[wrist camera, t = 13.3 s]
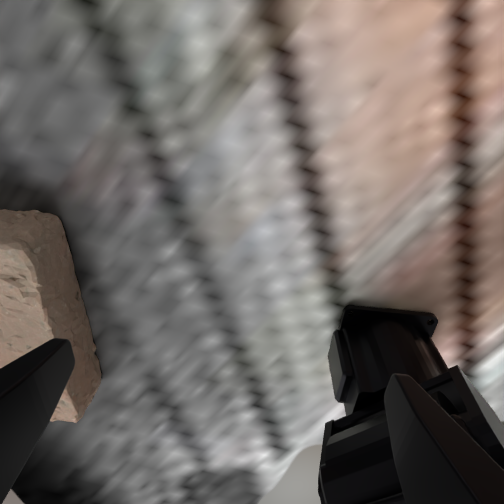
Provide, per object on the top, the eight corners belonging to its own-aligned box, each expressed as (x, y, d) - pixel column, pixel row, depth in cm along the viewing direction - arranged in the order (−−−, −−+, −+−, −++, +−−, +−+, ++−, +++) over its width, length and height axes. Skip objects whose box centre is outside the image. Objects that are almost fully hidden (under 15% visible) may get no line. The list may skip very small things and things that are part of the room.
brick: (-54, 201, 23) (-128, 231, 18) (66, 209, 22) (17, 241, 18) (19, 372, 31) (-22, 419, 26) (108, 381, 30) (80, 430, 26)
